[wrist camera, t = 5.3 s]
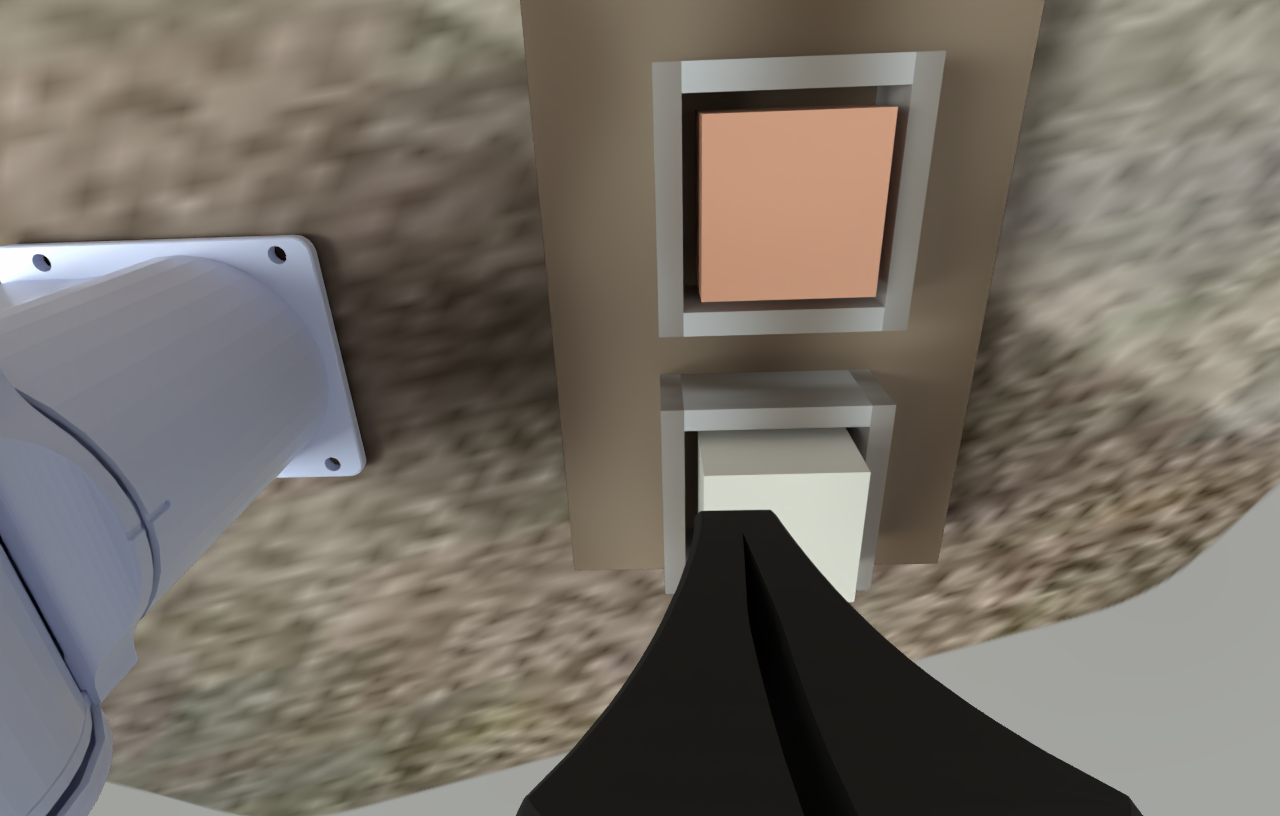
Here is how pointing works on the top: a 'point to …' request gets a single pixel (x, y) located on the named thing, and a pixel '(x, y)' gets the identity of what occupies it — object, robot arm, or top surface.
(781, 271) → the terracotta button
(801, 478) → the cream button
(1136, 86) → the top surface
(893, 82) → the button board
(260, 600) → the top surface
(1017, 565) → the top surface
